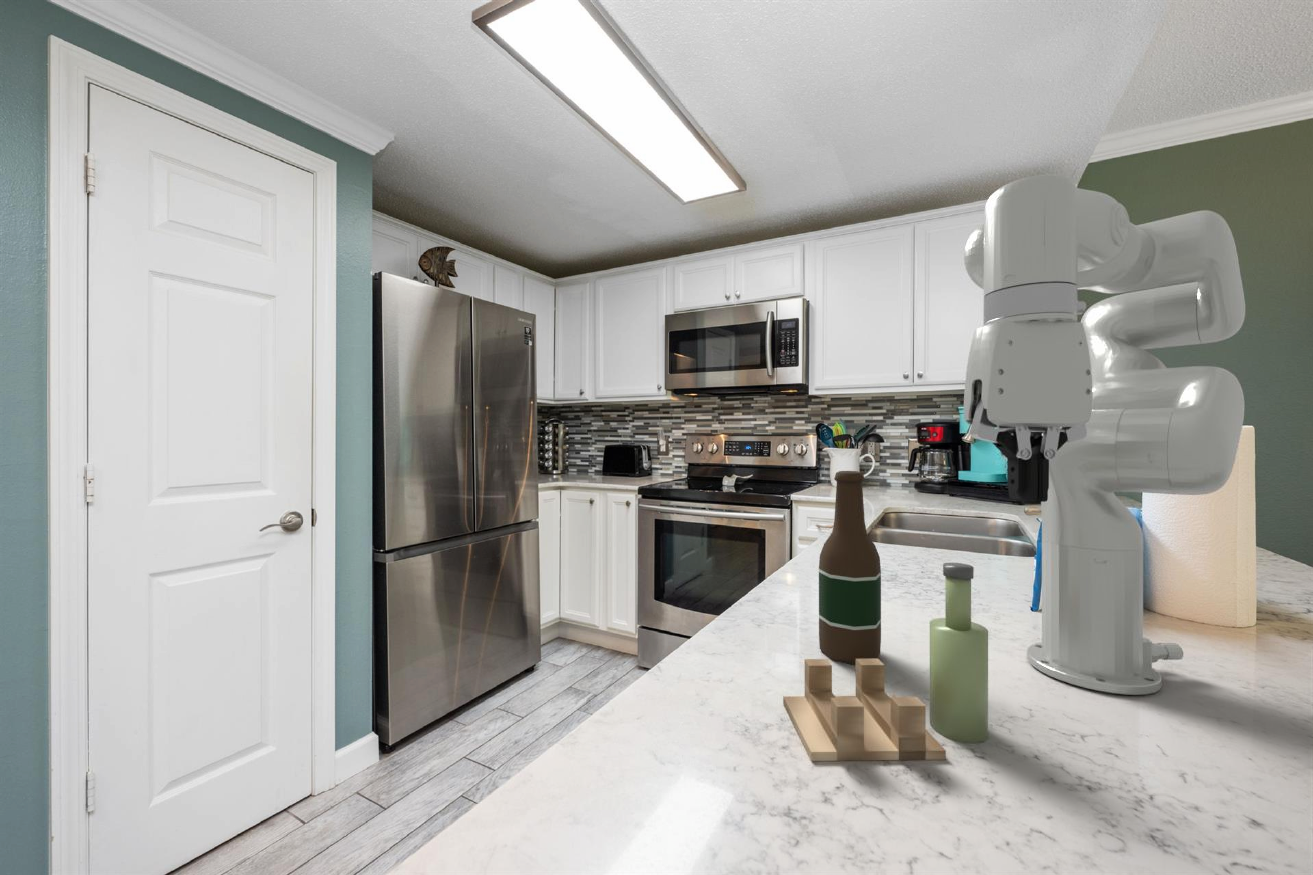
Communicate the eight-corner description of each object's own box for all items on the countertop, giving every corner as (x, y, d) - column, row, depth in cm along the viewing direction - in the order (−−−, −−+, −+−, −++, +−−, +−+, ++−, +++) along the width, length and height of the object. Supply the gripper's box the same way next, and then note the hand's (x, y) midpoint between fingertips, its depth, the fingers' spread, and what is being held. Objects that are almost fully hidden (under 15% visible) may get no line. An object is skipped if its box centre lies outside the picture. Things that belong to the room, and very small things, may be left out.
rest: (894, 702, 58) (894, 658, 57) (945, 759, 48) (945, 705, 47) (783, 703, 57) (783, 659, 57) (811, 760, 47) (811, 706, 47)
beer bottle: (887, 668, 66) (887, 474, 66) (821, 663, 67) (821, 473, 67) (875, 644, 74) (874, 469, 73) (816, 639, 75) (815, 469, 75)
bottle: (968, 714, 55) (968, 559, 55) (1000, 742, 50) (1000, 572, 50) (920, 715, 55) (920, 559, 55) (947, 743, 50) (946, 572, 50)
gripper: (1074, 321, 56) (1073, 496, 56) (932, 320, 56) (931, 495, 56) (1139, 303, 49) (1138, 505, 49) (975, 302, 48) (974, 504, 48)
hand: (1027, 499), depth 52 cm, fingers closed
